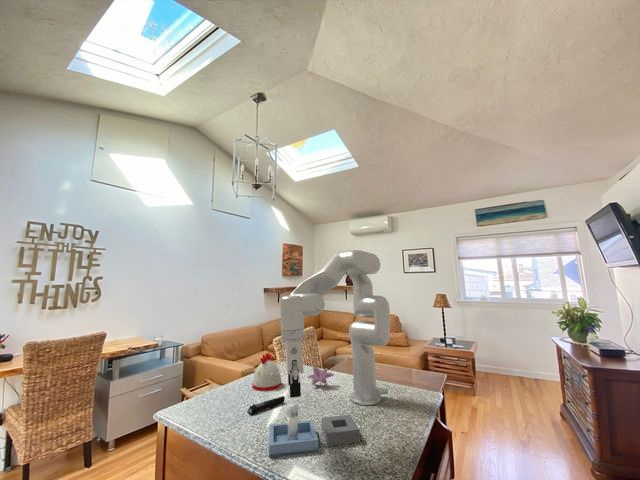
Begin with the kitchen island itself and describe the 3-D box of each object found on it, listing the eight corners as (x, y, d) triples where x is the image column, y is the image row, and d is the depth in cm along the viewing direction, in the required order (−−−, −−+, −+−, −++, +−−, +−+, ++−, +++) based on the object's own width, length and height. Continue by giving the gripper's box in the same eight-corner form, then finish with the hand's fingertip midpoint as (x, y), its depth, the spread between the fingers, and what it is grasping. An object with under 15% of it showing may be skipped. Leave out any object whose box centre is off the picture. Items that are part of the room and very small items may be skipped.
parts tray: (312, 430, 90) (312, 420, 91) (318, 451, 78) (318, 439, 79) (269, 434, 88) (269, 424, 88) (268, 457, 76) (269, 445, 77)
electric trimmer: (286, 405, 111) (286, 396, 111) (251, 416, 101) (251, 407, 102) (281, 402, 114) (281, 394, 114) (246, 413, 104) (247, 404, 104)
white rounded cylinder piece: (297, 436, 85) (297, 402, 87) (298, 442, 82) (298, 406, 84) (287, 438, 85) (287, 403, 86) (287, 443, 82) (287, 407, 83)
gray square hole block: (350, 426, 92) (350, 414, 93) (359, 442, 83) (359, 429, 83) (321, 429, 91) (321, 417, 91) (327, 446, 81) (327, 433, 82)
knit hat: (246, 387, 131) (246, 354, 133) (267, 379, 142) (267, 348, 144) (266, 393, 123) (267, 358, 125) (287, 384, 134) (287, 351, 136)
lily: (338, 388, 129) (334, 367, 135) (328, 385, 120) (325, 363, 126) (316, 394, 132) (313, 373, 138) (304, 392, 123) (302, 369, 129)
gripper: (307, 338, 81) (309, 400, 78) (301, 328, 98) (303, 379, 95) (281, 340, 80) (283, 403, 77) (280, 330, 96) (281, 381, 94)
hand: (294, 390), depth 86 cm, fingers open, 9 cm apart
